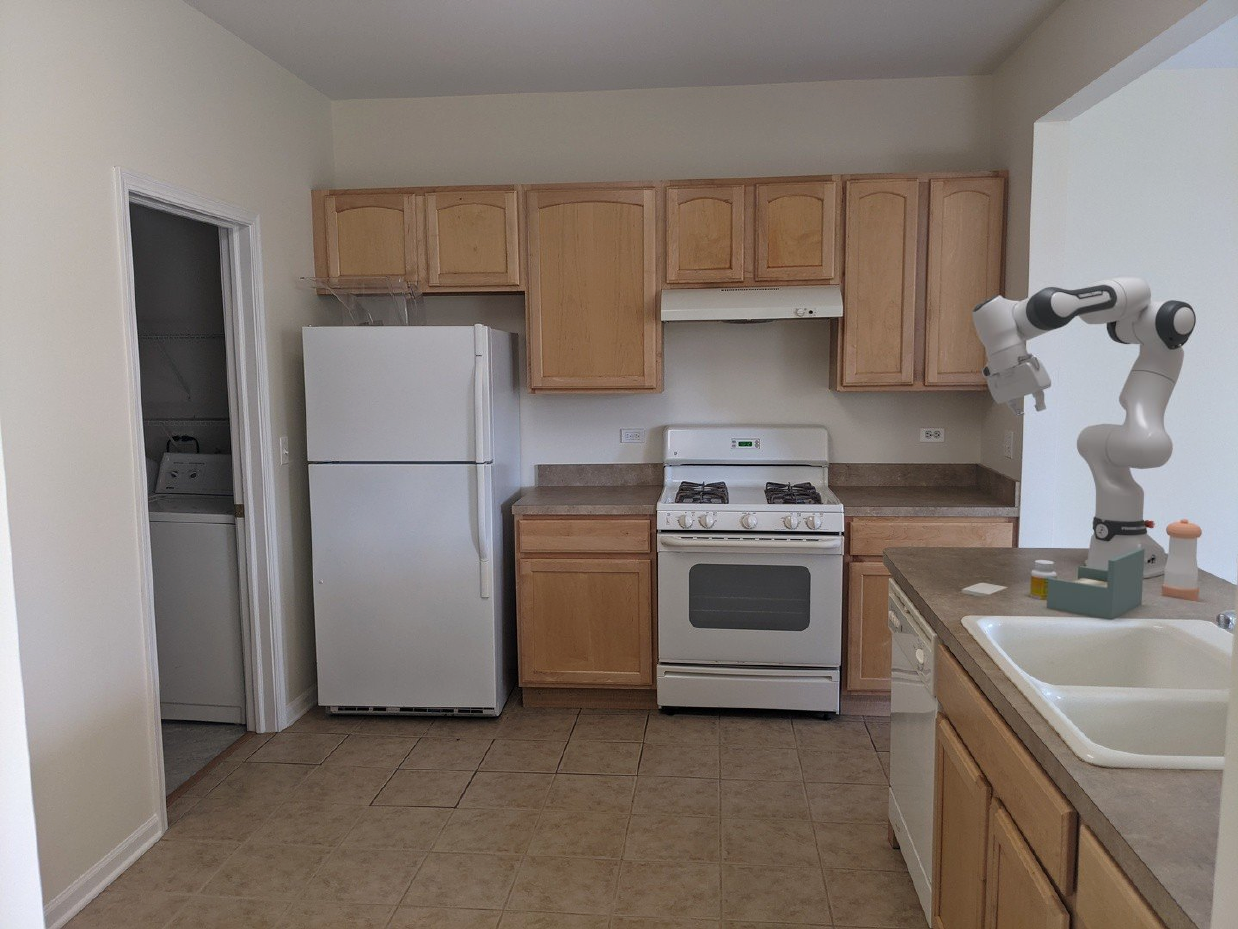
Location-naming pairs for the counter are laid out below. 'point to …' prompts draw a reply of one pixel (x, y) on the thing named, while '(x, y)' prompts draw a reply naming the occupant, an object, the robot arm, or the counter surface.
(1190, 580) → the pepper shaker
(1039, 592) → the supplement bottle
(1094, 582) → the birch offcut top
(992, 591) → the plate
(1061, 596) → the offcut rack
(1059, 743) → the counter surface
